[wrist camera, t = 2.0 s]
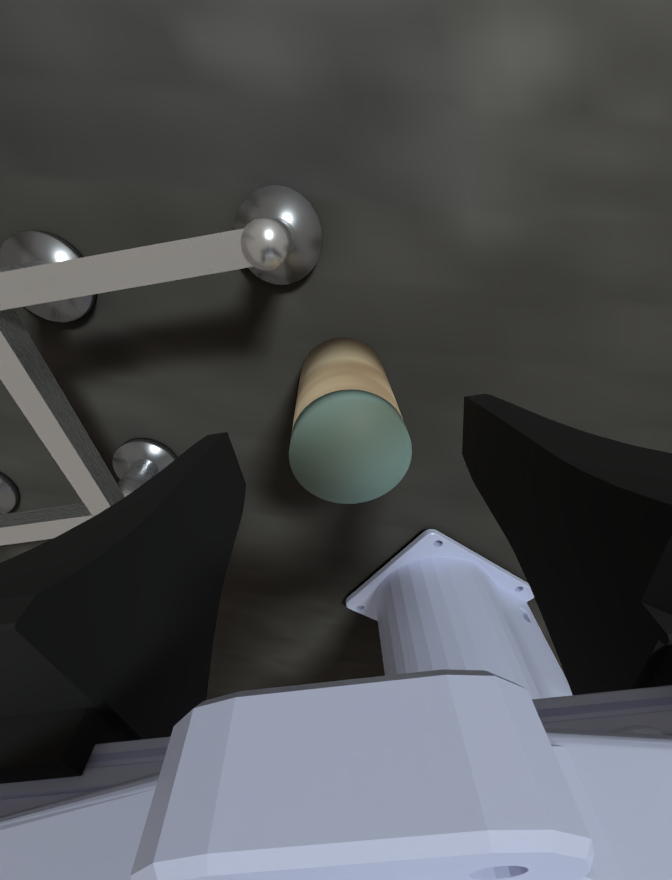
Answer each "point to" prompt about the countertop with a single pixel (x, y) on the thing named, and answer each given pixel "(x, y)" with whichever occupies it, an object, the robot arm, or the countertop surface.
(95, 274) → the wire course
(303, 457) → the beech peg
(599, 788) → the robot arm
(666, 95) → the countertop surface
